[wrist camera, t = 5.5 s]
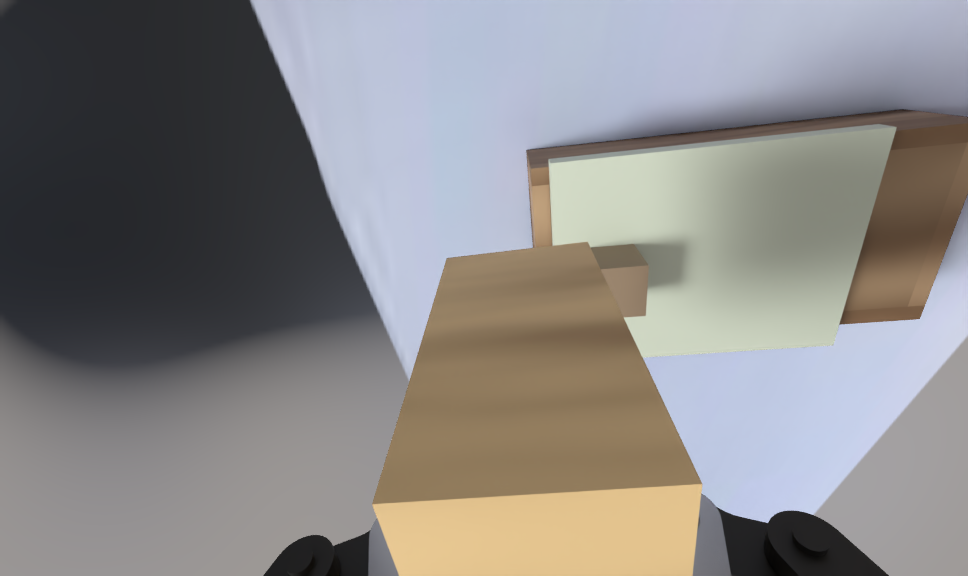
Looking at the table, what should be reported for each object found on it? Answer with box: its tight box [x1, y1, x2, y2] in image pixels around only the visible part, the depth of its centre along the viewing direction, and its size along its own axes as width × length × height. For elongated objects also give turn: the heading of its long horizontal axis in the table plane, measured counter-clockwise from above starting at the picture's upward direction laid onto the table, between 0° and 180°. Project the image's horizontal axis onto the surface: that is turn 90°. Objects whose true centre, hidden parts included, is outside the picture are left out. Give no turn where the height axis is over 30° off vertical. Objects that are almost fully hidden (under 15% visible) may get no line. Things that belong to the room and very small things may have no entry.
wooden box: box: [526, 109, 968, 324], centre depth 29 cm, size 12×24×6 cm, turn 96°
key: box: [372, 242, 702, 576], centre depth 11 cm, size 9×4×8 cm, turn 8°
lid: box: [548, 124, 897, 357], centre depth 25 cm, size 13×17×4 cm
